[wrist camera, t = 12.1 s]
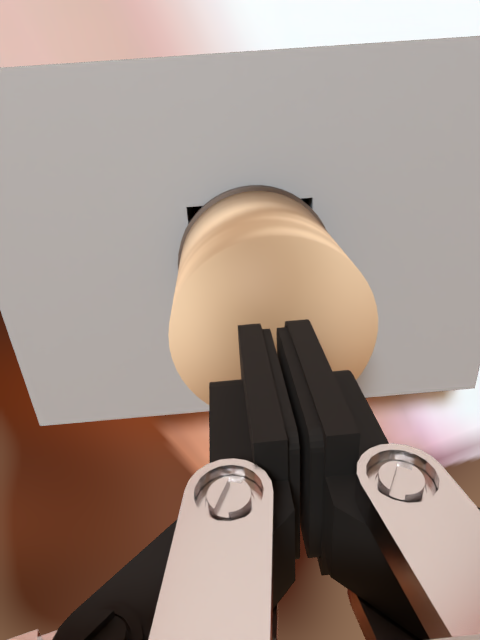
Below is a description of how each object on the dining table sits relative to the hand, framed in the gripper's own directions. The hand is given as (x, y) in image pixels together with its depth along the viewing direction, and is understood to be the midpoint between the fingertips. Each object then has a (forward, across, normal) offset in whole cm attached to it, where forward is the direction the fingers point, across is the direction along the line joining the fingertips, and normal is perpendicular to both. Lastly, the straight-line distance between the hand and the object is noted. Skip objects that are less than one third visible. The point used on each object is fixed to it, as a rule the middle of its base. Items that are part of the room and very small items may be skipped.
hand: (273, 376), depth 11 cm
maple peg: (+10, 0, 0) cm, 11 cm away
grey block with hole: (+12, 0, 0) cm, 12 cm away
